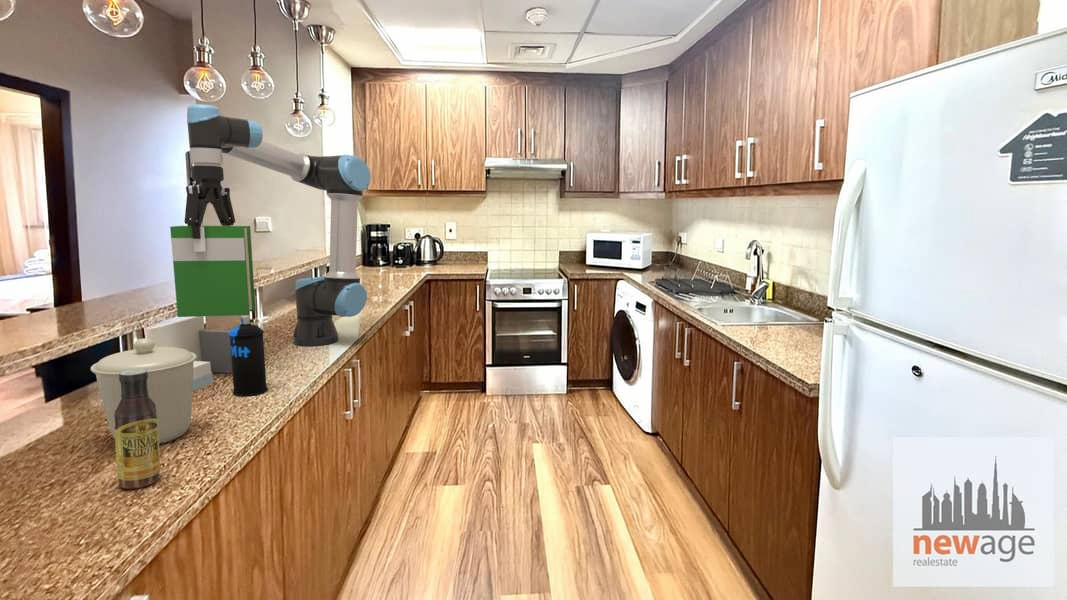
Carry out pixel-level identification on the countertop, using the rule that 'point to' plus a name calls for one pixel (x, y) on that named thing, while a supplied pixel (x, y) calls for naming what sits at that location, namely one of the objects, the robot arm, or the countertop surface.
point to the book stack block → (201, 374)
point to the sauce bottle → (136, 432)
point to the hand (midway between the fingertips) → (213, 250)
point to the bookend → (216, 350)
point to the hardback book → (213, 272)
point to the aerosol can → (248, 359)
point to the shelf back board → (179, 335)
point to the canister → (152, 384)
